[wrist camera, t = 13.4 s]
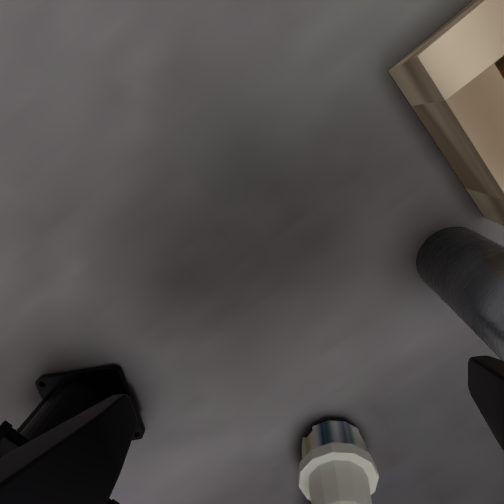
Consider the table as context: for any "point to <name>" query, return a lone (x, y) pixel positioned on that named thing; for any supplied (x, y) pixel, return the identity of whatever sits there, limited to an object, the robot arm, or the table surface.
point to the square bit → (500, 66)
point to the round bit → (468, 280)
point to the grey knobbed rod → (336, 465)
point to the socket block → (463, 98)
